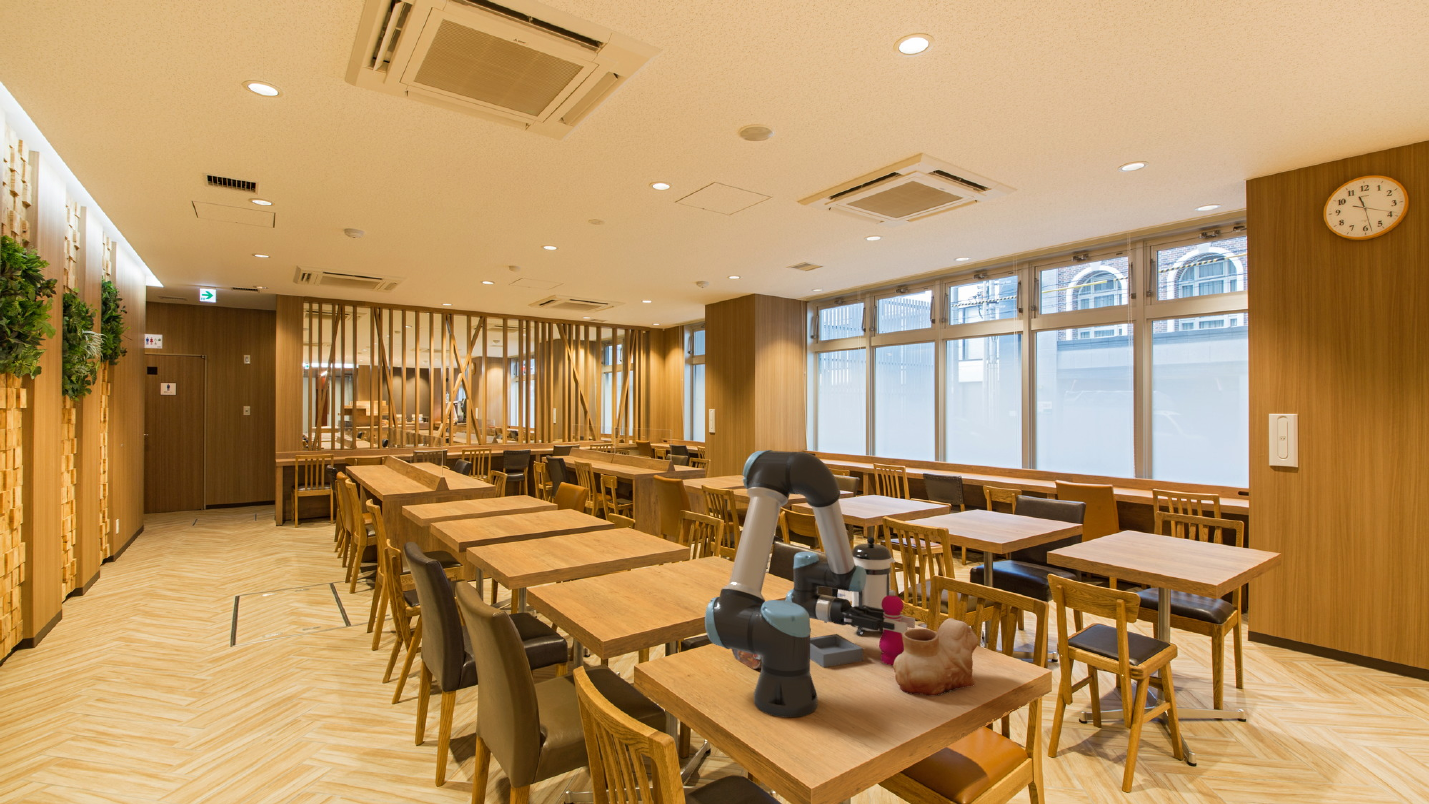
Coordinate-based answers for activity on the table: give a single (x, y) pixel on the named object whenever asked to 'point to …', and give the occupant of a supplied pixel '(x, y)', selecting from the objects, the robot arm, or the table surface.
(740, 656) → the tin
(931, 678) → the ceramic vessel
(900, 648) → the pepper mill
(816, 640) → the charcoal tray
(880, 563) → the coffee press
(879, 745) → the table surface
